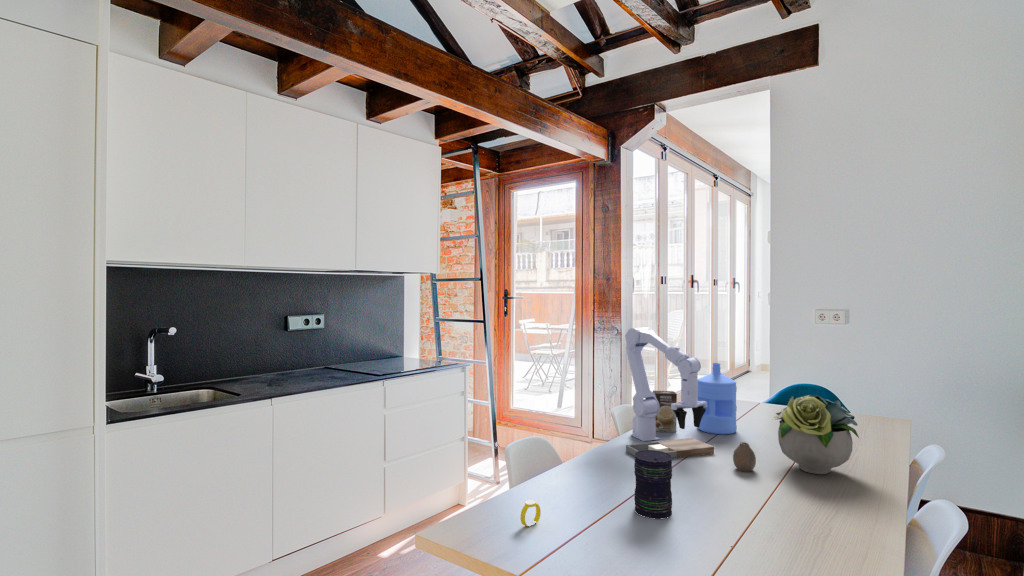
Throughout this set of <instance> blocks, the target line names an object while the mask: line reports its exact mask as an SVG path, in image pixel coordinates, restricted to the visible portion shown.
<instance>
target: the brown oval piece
mask: <svg viewBox="0 0 1024 576" xmlns="http://www.w3.org/2000/svg"><path fill="white" fill-rule="evenodd" d="M732 461H733V465H734V467H735V468H736V469H737V470H738V471H740V472H744V473H745V472H746V473H747V472H751V471H753V470H754V469H755V467H756V463H757V457H756V453H755V451H754V450H753V449H752V448H751V446H750V445H749V443H748V442H744V441H743V442H740V443H739V445H738V446H737V447H736V448H735V449H734V451H733V454H732Z"/></svg>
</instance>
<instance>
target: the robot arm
mask: <svg viewBox="0 0 1024 576" xmlns="http://www.w3.org/2000/svg"><path fill="white" fill-rule="evenodd" d="M624 337H625V342H626V348H625V351H626V355H627V360H628V363H629V367H630V371H631V375H632V380H633V384H634V388H635V394H634V396H633V397H632V403H633V404H632V410H633V412H634V415H633V417H632V433H630V435H631V437H634V438H636V439H637V440H640V441H641V442H649V441H650V442H651V441H656V440H658V441H659V440H661V437H658V436H656V434H657V433H656V432H657V431H656V415H657V412H658V411H659V408H660V405H659V402H658V400H657V399H656V397H655V394H654V393H653V390H652V391H651V389H650V386H649V380H648V377H647V373H646V372H647V371H646V368H645V364H644V360H643V356H642V351H643V349H644V348H645V347H646V346H647V345H648V344H650V345H652V346H653V347H655V348H656V349H657V350H659V352H660V351H661V352H662V353H663V354H664V357H665V359H667V360H668V361H669V362H670V363H672V364H673V365H674V366H676V368H677V370H678V372H679V373H680V375H679V376H680V378H681V379H680V384H681V385H680V387H681V388H680V389H681V390H680V393H681V395H680V401H679V402H678V401H677V403H673V404H671V409H673V411H674V413H675V415H676V417H677V419H676V421H677V423H678V427H679V428H680V429H682V430H685V427H686V419H687V418H686V417H687V413H688V412H687V411H686V410H685V409H691V411H692V415H693V426H694V427H695V428H697V429H698V428H699V426H700V422H701V419H702V417H703V415H704V413H705V412H706V409H705V408H703V407H707V402H706V401H698V379H699V378H698V377H699V376H698V373H699V372H700V371H701V368H702V366H701V362H700V360H699V359H698V358H697V357H692V356H691V357H690V354H687V353H685V352H684V351H682V350H681V347H679V346H675V345H672V346H671V345H670V344H668V343H667V342H666V341H665V340H663V338H661V337H659V335H657V334H656V333H655V331H654V330H653V329H651V328H650V327H648V326H645V327H630V328H629V329H627V331H626V333H625V335H624Z"/></svg>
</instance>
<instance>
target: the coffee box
mask: <svg viewBox="0 0 1024 576" xmlns="http://www.w3.org/2000/svg"><path fill="white" fill-rule="evenodd" d="M652 392H653V393H654V394H655V397H656V399H657V400H658V402H659V405H660V408H659V411H658V412H657V415H656V432H660V431H666V432H665V433H676V432H677V417H676V415H675V413H674V411H673V409H671V404H673V403H678V401H677V400H678V398H677V397H678V394H677V393H676V392H675V391H674V390H652Z"/></svg>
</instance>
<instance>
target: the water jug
mask: <svg viewBox="0 0 1024 576" xmlns="http://www.w3.org/2000/svg"><path fill="white" fill-rule="evenodd" d="M711 364H712V372H711V373H708V374H706V375H704V376H702V377H700V378H698V401H706V402H707V407H703V408H705V409H706V412H705V413H704V415H703V417H702V419H701V422H700V426H699V428H697V429H698V430H699V431H701V432H703V433H708V434H713V435H732V434H735V433H736V432H737V411H738V410H737V389H738V388H737V381H735V380H734V379H732V378H730V377H729V376H726V375H724V374H722V372H721V363H719V362H717V363H716V362H712V363H711Z"/></svg>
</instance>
